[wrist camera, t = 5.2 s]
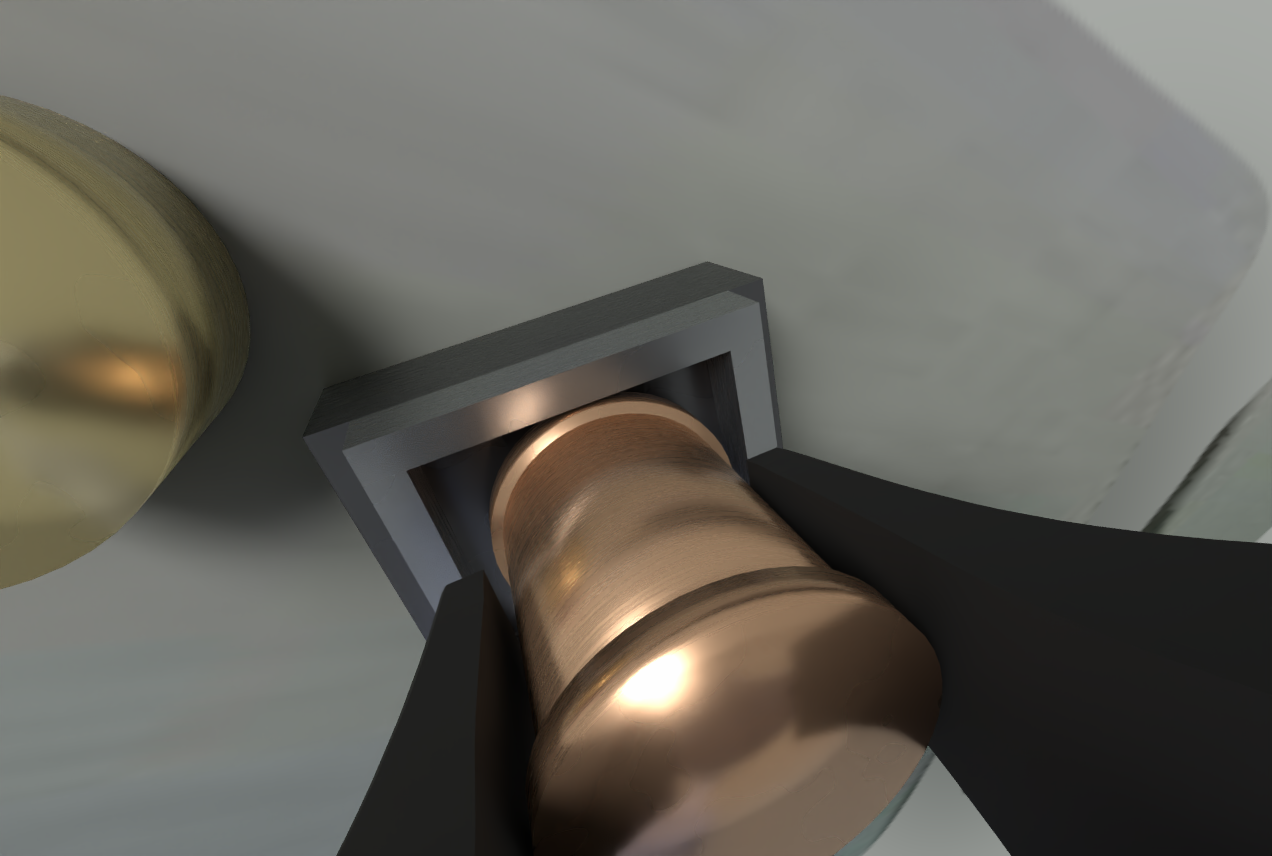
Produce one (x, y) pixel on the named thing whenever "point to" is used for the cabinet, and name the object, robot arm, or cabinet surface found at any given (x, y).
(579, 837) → the copper flared cylinder
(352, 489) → the gray square open box
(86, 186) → the gold short rounded piece
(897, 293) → the cabinet surface
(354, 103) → the cabinet surface
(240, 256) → the cabinet surface
